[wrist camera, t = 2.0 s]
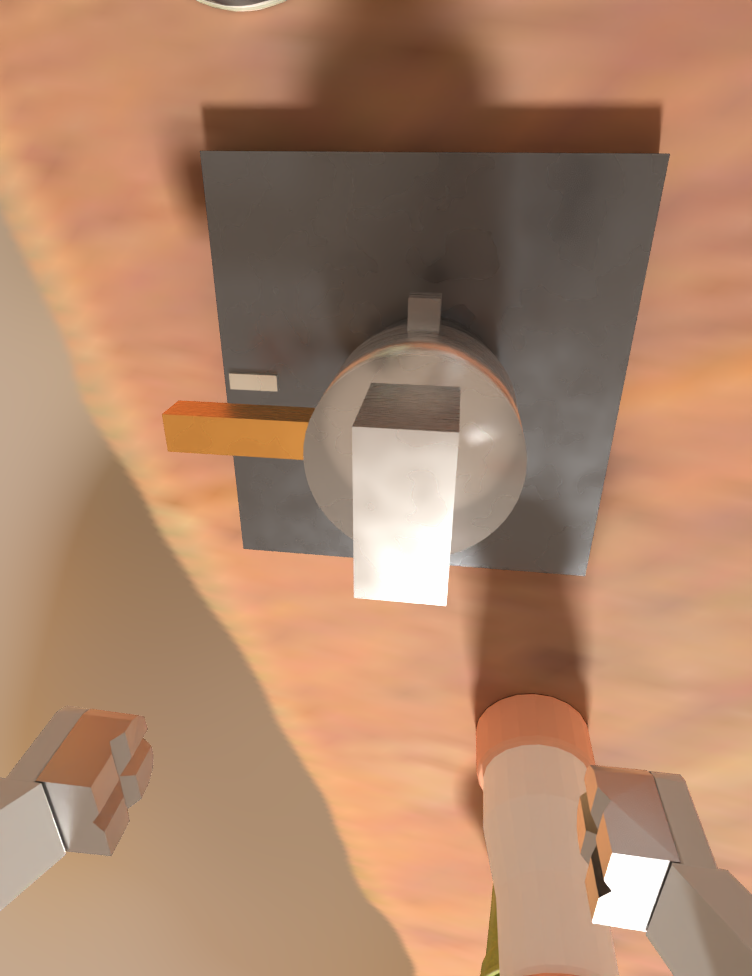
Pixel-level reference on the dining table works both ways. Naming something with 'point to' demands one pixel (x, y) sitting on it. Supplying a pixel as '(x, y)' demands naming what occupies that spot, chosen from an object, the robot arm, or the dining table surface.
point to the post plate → (465, 307)
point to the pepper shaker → (539, 838)
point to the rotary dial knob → (391, 450)
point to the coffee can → (241, 4)
